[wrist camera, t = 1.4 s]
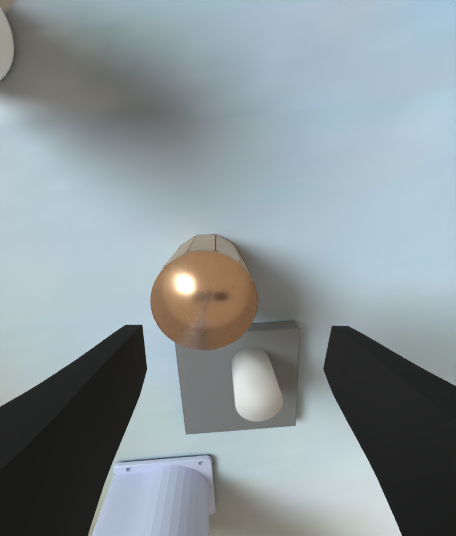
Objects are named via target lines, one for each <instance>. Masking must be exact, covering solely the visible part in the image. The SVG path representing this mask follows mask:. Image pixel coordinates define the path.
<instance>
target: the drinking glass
mask: <svg viewBox="0 0 456 536" xmlns="http://www.w3.org/2000/svg"><path fill="white" fill-rule="evenodd" d="M13 57H14V40H13V35H12V31H11V28H10V25H9V22H8V20H7V18H6V16H5V14H4V12H3V10H2V9H1V7H0V80H1V79H2V78H3V77H4V76H5V75H6V74H7V72H8V71H9V69H10V67H11V65H12V61H13Z"/></svg>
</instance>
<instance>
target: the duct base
mask: <svg viewBox="0 0 456 536" xmlns="http://www.w3.org/2000/svg"><path fill="white" fill-rule="evenodd" d="M299 330H300V328H299V326H298V325H297V323H296V322H295V321H285V322H270V323H254V324H251V326H250V327H249V328H248V330H247V331H246V332H245V333H244V334H243V335H242V336H241V337H240V338H239V339H237V340H236V341H235V342H233V343H231V344H229V345H227V346H224V347H222V348H218V349H213V350H195V349H191V348H187V347H184V346H182V345H179V344H177V343H176V342H175V348H176V356H177V364H178V373H179V381H180V389H181V398H182V406H183V414H184V423H185V431H186V434H198V433H211V432H223V431H236V430H248V429H260V428H273V427H285V426H296V403H297V379H298V354H299Z"/></svg>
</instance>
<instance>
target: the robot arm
mask: <svg viewBox="0 0 456 536" xmlns="http://www.w3.org/2000/svg"><path fill="white" fill-rule="evenodd" d="M323 369H324V372H325V375H326V377H327V380H328V383H329V385H330V388H331V390H332V393H333V395H334V397H335V399H336V401H337V403H338V405H339V407H340V409H341V410H342V412H343V414H344V416H345V418H346V420H347V422H348V424H349V425H350V427H351V429H352V431H353V433H354V435H355V436H356V438H357V440H358V442H359V444H360V446H361V448H362V449H363V451H364V453H365V455H366V457H367V459H368V461H369V463H370V465H371V467H372V469H373V471H374V473H375V475H376V477H377V479H378V481H379V483H380V485H381V488H382V490H383V492H384V495H385V497H386V499H387V501H388V504H389V506H390V508H391V510H392V513H393V515H394V517H395V520H396V522H397V524H398V527H399V529H400V532H401V534H402V536H456V386H454V385H452V384H451V383H449V382H447V381H445V380H443V379H441V378H439V377H437V376H436V375H434V374H432V373H430V372H428V371H426V370H424V369H423V368H421V367H419V366H417V365H415V364H414V363H412V362H410V361H408V360H407V359H405V358H403V357H401V356H400V355H398V354H396V353H395V352H393V351H391V350H389V349H388V348H386V347H384V346H383V345H381V344H379V343H378V342H376V341H374V340H372V339H371V338H369V337H367V336H366V335H364V334H362V333H360V332H358V331H357V330H355V329H353V328H351V327H349V326H332V329H331V334H330V338H329V343H328V348H327V353H326V358H325V363H324V368H323ZM146 371H147V364H146V355H145V346H144V337H143V327H142V325H125V326H123V327H122V328H120V329H119V330H117V331H116V332H114V333H113V334H112V335H110V336H109V337H107V338H106V339H105V340H103V341H102V342H101V343H99V344H98V345H96V346H95V347H94V348H92V349H91V350H89V351H88V352H86V353H85V354H84V355H82V356H81V357H79V358H78V359H77V360H75V361H74V362H72V363H71V364H69V365H68V366H66V367H64V368H63V369H61V370H60V371H58V372H57V373H55V374H54V375H52V376H51V377H49V378H48V379H46V380H45V381H43V382H42V383H40V384H38V385H37V386H35V387H33V388H32V389H30V390H28V391H27V392H25V393H23V394H22V395H20V396H18V397H17V398H15V399H13V400H11V401H9V402H8V403H6V404H4V405H2V406H1V407H0V536H88V533H89V530H90V527H91V523H92V520H93V517H94V514H95V511H96V508H97V505H98V502H99V499H100V495H101V492H102V489H103V486H104V483H105V481H106V478H107V475H108V473H109V470H110V467H111V465H112V462H113V460H114V457H115V455H116V453H117V450H118V448H119V445H120V443H121V440H122V438H123V436H124V433H125V431H126V428H127V426H128V423H129V421H130V419H131V416H132V414H133V411H134V409H135V406H136V404H137V401H138V399H139V396H140V393H141V389H142V386H143V382H144V379H145V375H146ZM113 472H114V477H113V480H112V483H111V485H110V488H109V491H108V493H107V496H106V499H105V501H104V504H103V507H102V509H101V512H100V515H99V518H98V520H97V523H96V526H95V528H94V531H93V534H92V536H209V515H213V514H214V513H215V511H216V506H215V494H214V483H213V471H212V459H211V457H210V456H208V455H205V456H193V457H181V458H169V459H157V460H145V461H133V462H121V463H116V464H115V466H114V468H113Z"/></svg>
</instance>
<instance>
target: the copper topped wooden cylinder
mask: <svg viewBox="0 0 456 536" xmlns="http://www.w3.org/2000/svg"><path fill="white" fill-rule="evenodd" d="M257 301H258V300H257V292H256V288H255V284H254V282H253V280H252V277H251V275H250V273H249V271H248V269H247V267H246V265H245V262H244V260H243V258H242V257H241V255H240V253H239V252H238V250H237V249H236V247H235V246H234V244H233V243H232V242H230V241H228V240H226V239H224V238H222V237H220V236H218V235H217V234H216V236H215V234H208V235H197V236H194V237H193V238H191V239H190V240H188V241H187V242H185V243H184V244H182V245H181V246H180V247H179V248H178V250H177V251H176V252H175V253H174V255H173V256H172V257H171V258H170V260H169V261H168V262H167V263H166V265H165V266H164V267H163V270H162V271H161V272H160V274H159V275H158V277H157V278H156V280H155V282H154V285H153V287H152V292H151V310H152V314H153V317H154V319H155V321H156V323H157V325H158V326H159V328H160V329H161V331H162V332H163V333H164V334H165V335H166V336H167V337H168V338H170V339H171V340H172V341H174V342H176V343H177V344H179V345H182V346H184V347H187V348H191V349H195V350H213V349H218V348H222V347H224V346H227V345H229V344H231V343H233V342H235V341H236V340H237V339H239V338H240V337H241V336H242V335H243V334H244V333H245V332H246V331H247V330H248V328H249V327H250V326H251V324H252V322H253V320H254V317H255V314H256V310H257Z"/></svg>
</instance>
